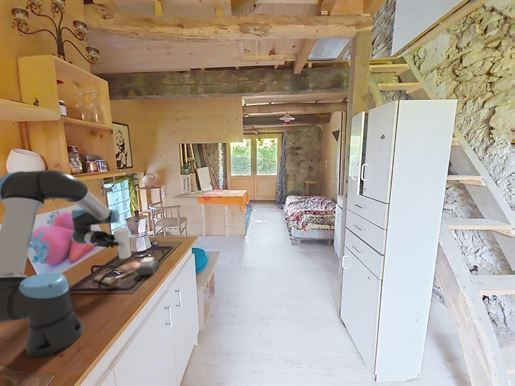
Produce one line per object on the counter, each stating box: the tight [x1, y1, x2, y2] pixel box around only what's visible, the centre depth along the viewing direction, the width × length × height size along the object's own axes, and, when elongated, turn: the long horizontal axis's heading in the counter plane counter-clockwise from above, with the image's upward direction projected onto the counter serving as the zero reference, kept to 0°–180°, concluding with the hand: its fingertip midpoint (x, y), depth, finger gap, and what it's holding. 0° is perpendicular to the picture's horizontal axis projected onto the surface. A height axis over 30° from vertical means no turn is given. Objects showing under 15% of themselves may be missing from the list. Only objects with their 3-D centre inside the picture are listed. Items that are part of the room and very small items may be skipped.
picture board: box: [93, 260, 141, 285], centre depth 131 cm, size 22×13×1 cm, turn 151°
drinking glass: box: [113, 226, 132, 260], centre depth 123 cm, size 7×7×15 cm
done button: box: [140, 256, 155, 267], centre depth 130 cm, size 5×5×4 cm
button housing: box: [136, 260, 160, 277], centre depth 131 cm, size 8×8×4 cm
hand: (130, 241), depth 121 cm, fingers closed on drinking glass, 6 cm apart
